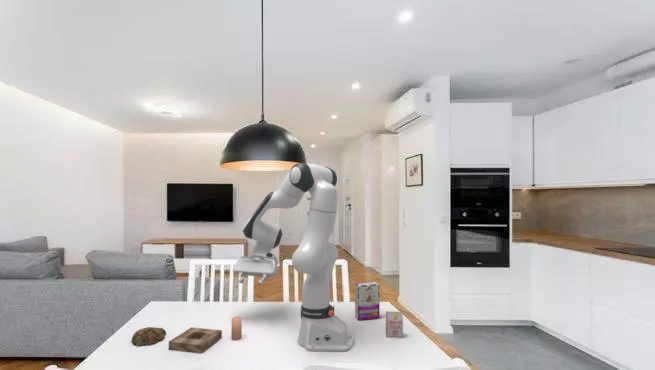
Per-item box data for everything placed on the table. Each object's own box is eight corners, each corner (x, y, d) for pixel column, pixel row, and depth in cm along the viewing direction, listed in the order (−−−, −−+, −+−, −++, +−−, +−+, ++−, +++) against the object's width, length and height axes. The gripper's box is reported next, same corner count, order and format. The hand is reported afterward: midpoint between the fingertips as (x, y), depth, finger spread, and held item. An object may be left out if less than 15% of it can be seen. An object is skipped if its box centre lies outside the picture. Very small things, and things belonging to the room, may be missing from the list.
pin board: (221, 337, 137) (221, 330, 137) (202, 353, 123) (202, 345, 123) (191, 334, 139) (191, 327, 140) (168, 349, 126) (168, 341, 126)
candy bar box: (375, 315, 164) (375, 281, 165) (379, 318, 159) (380, 284, 160) (354, 317, 161) (354, 282, 162) (358, 321, 156) (358, 285, 157)
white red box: (385, 333, 142) (385, 309, 142) (401, 334, 142) (401, 310, 142) (386, 337, 138) (386, 312, 139) (403, 338, 138) (403, 313, 138)
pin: (243, 336, 138) (243, 317, 138) (238, 340, 134) (239, 320, 134) (234, 335, 139) (234, 316, 139) (229, 339, 135) (229, 319, 135)
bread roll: (134, 336, 138) (134, 324, 139) (167, 332, 143) (167, 320, 143) (128, 349, 126) (128, 336, 127) (164, 344, 131) (164, 331, 131)
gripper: (237, 252, 160) (226, 277, 150) (278, 254, 155) (269, 281, 145) (241, 259, 164) (231, 285, 154) (281, 262, 160) (273, 288, 150)
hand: (250, 283), depth 150 cm, fingers open, 8 cm apart
